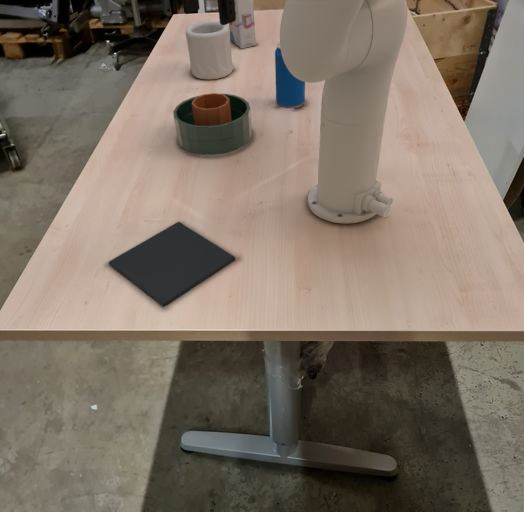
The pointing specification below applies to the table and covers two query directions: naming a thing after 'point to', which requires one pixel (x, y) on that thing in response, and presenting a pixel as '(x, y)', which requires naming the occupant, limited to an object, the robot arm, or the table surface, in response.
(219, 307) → the table surface
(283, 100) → the beverage can
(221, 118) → the copper pot
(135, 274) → the rubber mat
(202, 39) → the mug
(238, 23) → the ink box
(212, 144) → the green pot
